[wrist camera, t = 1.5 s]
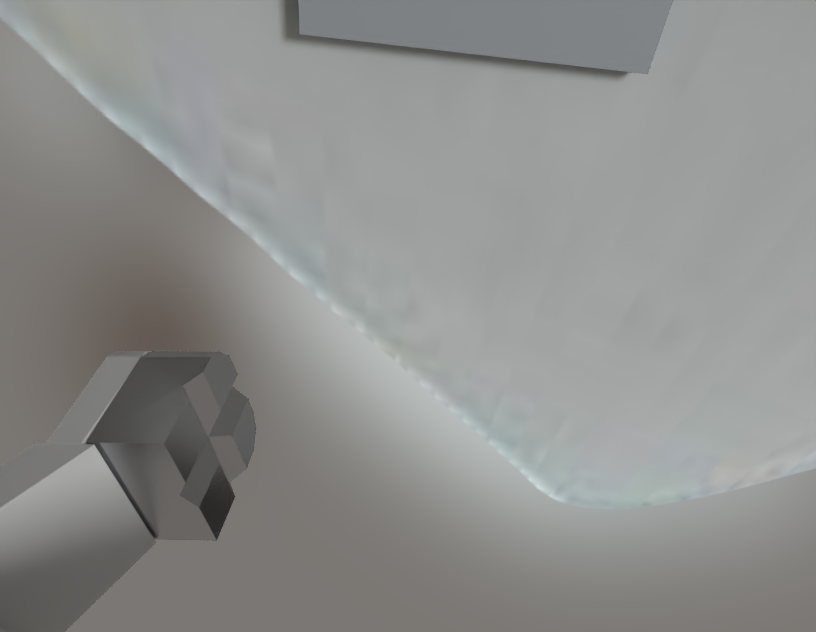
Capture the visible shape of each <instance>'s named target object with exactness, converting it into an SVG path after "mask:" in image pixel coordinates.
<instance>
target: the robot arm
mask: <svg viewBox="0 0 816 632" xmlns="http://www.w3.org/2000/svg"><path fill="white" fill-rule="evenodd" d="M237 375H238V373H237V371H236V369H235V366H234V364H233V362H232V360H231V358H230V356H229V355H227V354H225V353H222V352H211V351H206V352H205V351H151V352H140V351H136V352H135V351H118V352H116V353H114V354H112V355H110V356H108V357H107V358H106V359H105V360H104V362H103V363H102V365H101V366H100V367H99V369H98V370H97V372H96V373H95V375H94V376H93V377H92V379H91V380H90V381H89V383H88V384H87V386H86V387H85V389H84V390H83V391H82V393H81V394H80V396H79V397H78V398H77V400H76V401H75V403H74V404H73V405H72V407H71V408H70V410H69V411H68V412H67V414H66V416H65V417H64V418H63V420H62V421H61V423H60V424H59V425H58V427H57V428H56V430H55V431H54V432H53V434H52V435H51V437H50V438H49V439H48V441H47V442H46V443H45V444H42V443H37V444H33V445H32V446H30V447H29V448H27V449H25V450H24V451H22V452H21V453H19V454H18V455H16V456H14V457H13V458H11V459H10V460H8V461H7V462H5V463H4V464H2V465H0V632H65V631H66V630H67V629H68V628H69V627H70V626H71V625H72V624H73V623H74V622H75V621H76V620H77V619H78V618H79V617H80V616H81V615H83V613H85V612H86V611H87V610H88V609H89V608H90V607H91V606H92V605H93V604H94V603H95V602H96V601H97V600H98V599H99V598H100V597H101V596H102V595H103V594H104V593H105V592H106V591H107V590H108V589H109V588H110V587H111V586H112V585H113V584H114V583H115V582H116V581H117V580H118V579H119V578H120V577H122V576H123V575H124V574H125V572H127V571H128V569H130V568H131V567H132V566H133V565H134V564H135V563H136V562H137V561H138V560H139V559H140V558H141V557H142V556H143V555H144V554H145V553H146V552H147V551H148V550H149V549H150V548H151V547H152V546H153V545H154V544H155V543H156V542H155V540H154V539H167V540H171V539H172V540H217V539H218V536H219V534H220V532H221V529H222V527H223V524H224V522H225V520H226V517H227V515H228V513H229V510H230V508H231V505H232V503H233V501H234V498H235V495H234V492H233V489H232V487H231V484H230V482H231V481H232V480H233V479H234V478H236V477H237V476H238V475H239V474H241V473H242V472H243V471H244V470H246V468H247V467H248V464H249V461H250V459H251V456H252V454H253V451H254V444H255V435H256V424H255V418H254V412H253V409H252V407H251V404H250V402H249V399H248V398H247V397H245V396H244V395H243V394H242V393H240V392H239V391H238V390H236V389H235V388H234V387H233V384H234V381H235V380H236V377H237Z"/></svg>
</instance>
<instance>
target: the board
mask: <svg viewBox="0 0 816 632" xmlns="http://www.w3.org/2000/svg"><path fill="white" fill-rule="evenodd" d="M672 2H673V0H298V4H299V34H301V35H310V36H318V37H327V38H336V39H345V40H353V41H362V42H371V43H380V44H388V45H397V46H406V47H415V48H423V49H432V50H441V51H450V52H458V53H467V54H476V55H485V56H493V57H502V58H511V59H520V60H528V61H537V62H546V63H555V64H563V65H572V66H581V67H590V68H598V69H607V70H616V71H625V72H633V73H642V74H648V72H649V69H650V66H651V63H652V60H653V57H654V54H655V51H656V48H657V46H658V43H659V40H660V37H661V34H662V31H663V28H664V25H665V22H666V19H667V16H668V14H669V11H670V8H671V5H672Z"/></svg>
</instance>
